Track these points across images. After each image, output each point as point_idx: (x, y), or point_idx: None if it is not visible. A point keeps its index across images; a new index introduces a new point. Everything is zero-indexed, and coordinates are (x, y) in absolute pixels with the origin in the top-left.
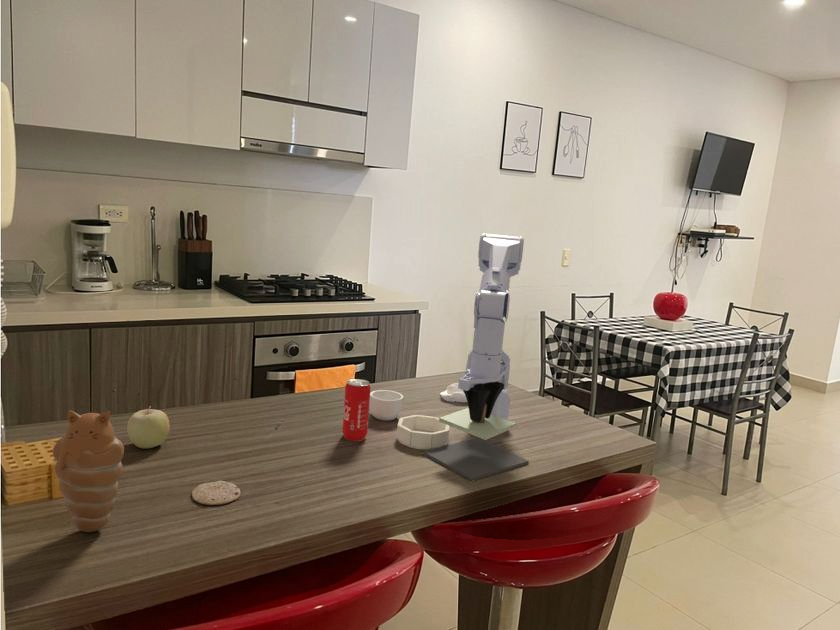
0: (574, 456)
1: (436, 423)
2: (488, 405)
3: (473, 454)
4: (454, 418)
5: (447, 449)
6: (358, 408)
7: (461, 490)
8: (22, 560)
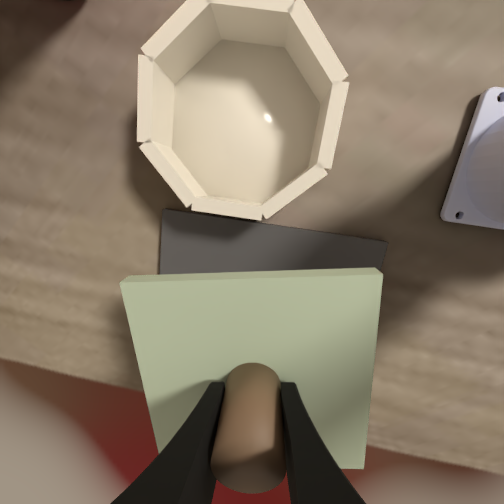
0: (468, 441)
1: (324, 109)
2: (289, 478)
3: None
4: (177, 322)
5: (231, 242)
6: None
7: (111, 375)
8: None
